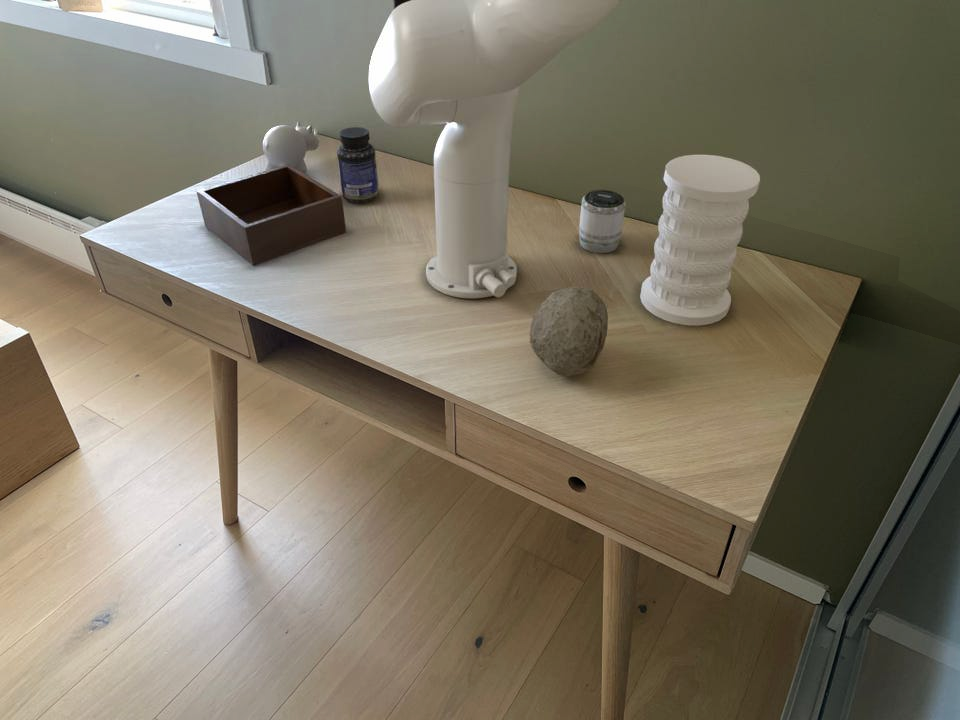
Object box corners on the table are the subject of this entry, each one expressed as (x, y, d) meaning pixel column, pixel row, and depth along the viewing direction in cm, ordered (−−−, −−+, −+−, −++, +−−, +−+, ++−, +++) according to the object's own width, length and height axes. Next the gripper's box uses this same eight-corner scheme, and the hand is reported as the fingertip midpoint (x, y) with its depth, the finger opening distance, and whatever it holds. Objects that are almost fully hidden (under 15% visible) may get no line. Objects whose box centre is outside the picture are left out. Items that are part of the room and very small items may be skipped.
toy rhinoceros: (336, 163, 131) (330, 116, 125) (289, 186, 123) (281, 137, 117) (306, 154, 134) (300, 108, 129) (259, 176, 126) (250, 128, 120)
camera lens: (583, 231, 111) (588, 183, 106) (623, 238, 109) (630, 190, 104) (572, 250, 106) (577, 200, 101) (614, 257, 104) (621, 208, 99)
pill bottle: (386, 198, 119) (381, 133, 112) (354, 208, 116) (347, 142, 109) (366, 186, 123) (360, 122, 116) (335, 195, 120) (327, 130, 113)
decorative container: (641, 321, 91) (664, 189, 80) (638, 274, 100) (659, 150, 89) (734, 329, 90) (771, 196, 79) (723, 281, 99) (755, 156, 88)
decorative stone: (548, 333, 89) (553, 263, 83) (613, 352, 86) (624, 281, 80) (513, 379, 82) (517, 306, 76) (583, 401, 79) (592, 328, 73)
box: (346, 232, 110) (342, 195, 106) (253, 266, 102) (244, 228, 98) (294, 198, 119) (289, 163, 115) (205, 227, 111) (196, 190, 107)
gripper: (358, -132, 91) (369, 13, 102) (421, -122, 80) (427, 41, 90) (410, -134, 95) (416, 7, 105) (478, -124, 83) (477, 34, 93)
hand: (421, 23), depth 98 cm, fingers open, 9 cm apart
